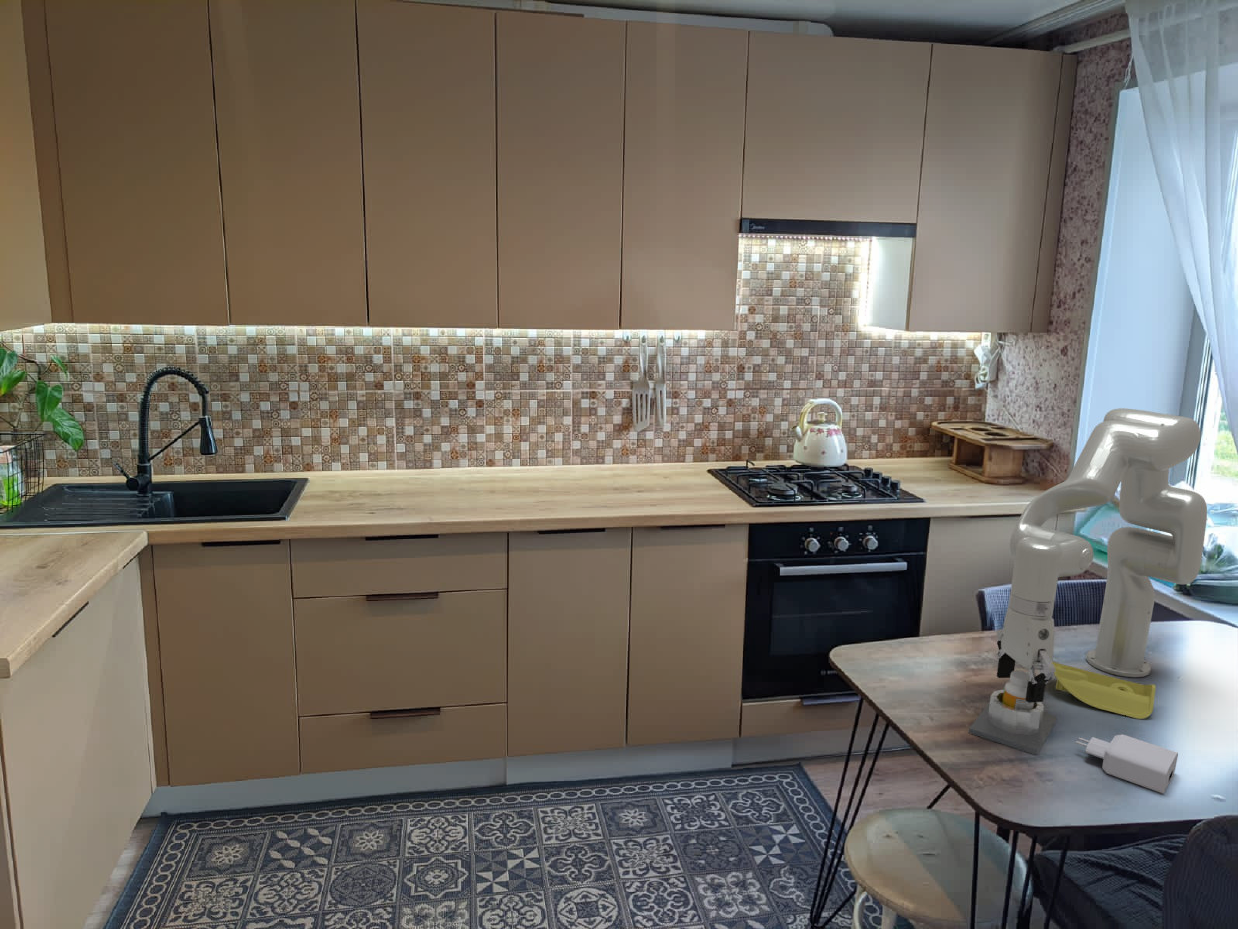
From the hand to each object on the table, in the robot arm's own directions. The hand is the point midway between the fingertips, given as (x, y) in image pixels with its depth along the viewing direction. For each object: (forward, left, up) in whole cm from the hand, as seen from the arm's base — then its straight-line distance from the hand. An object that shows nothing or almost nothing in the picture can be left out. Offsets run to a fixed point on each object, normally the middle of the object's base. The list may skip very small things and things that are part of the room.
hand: (1018, 689), depth 170 cm
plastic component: (-24, +10, -8) cm, 28 cm away
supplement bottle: (0, 0, -7) cm, 7 cm away
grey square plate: (0, 0, -8) cm, 8 cm away
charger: (+2, +19, -8) cm, 21 cm away
